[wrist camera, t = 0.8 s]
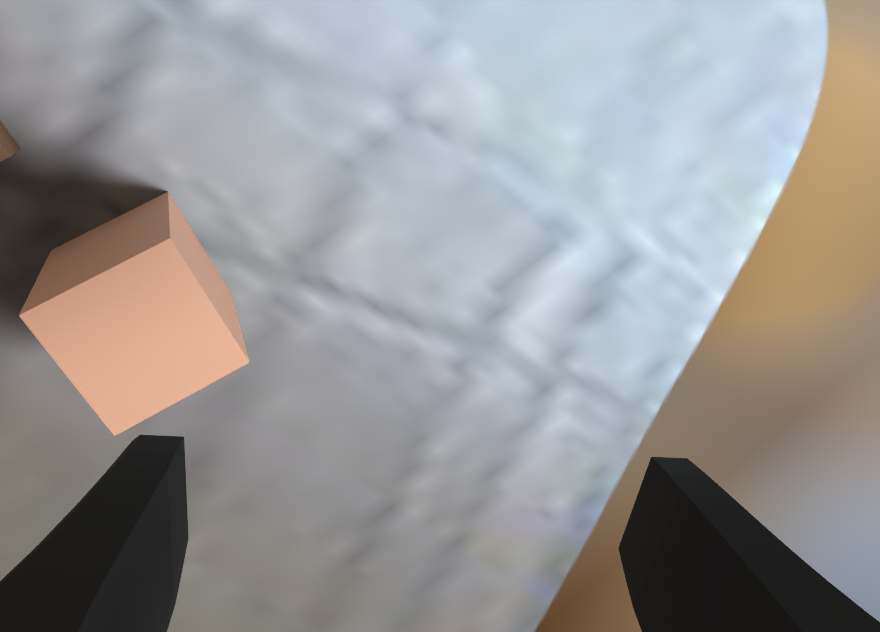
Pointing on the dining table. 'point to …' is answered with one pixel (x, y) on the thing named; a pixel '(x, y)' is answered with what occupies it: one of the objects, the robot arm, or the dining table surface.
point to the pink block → (136, 314)
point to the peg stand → (6, 144)
